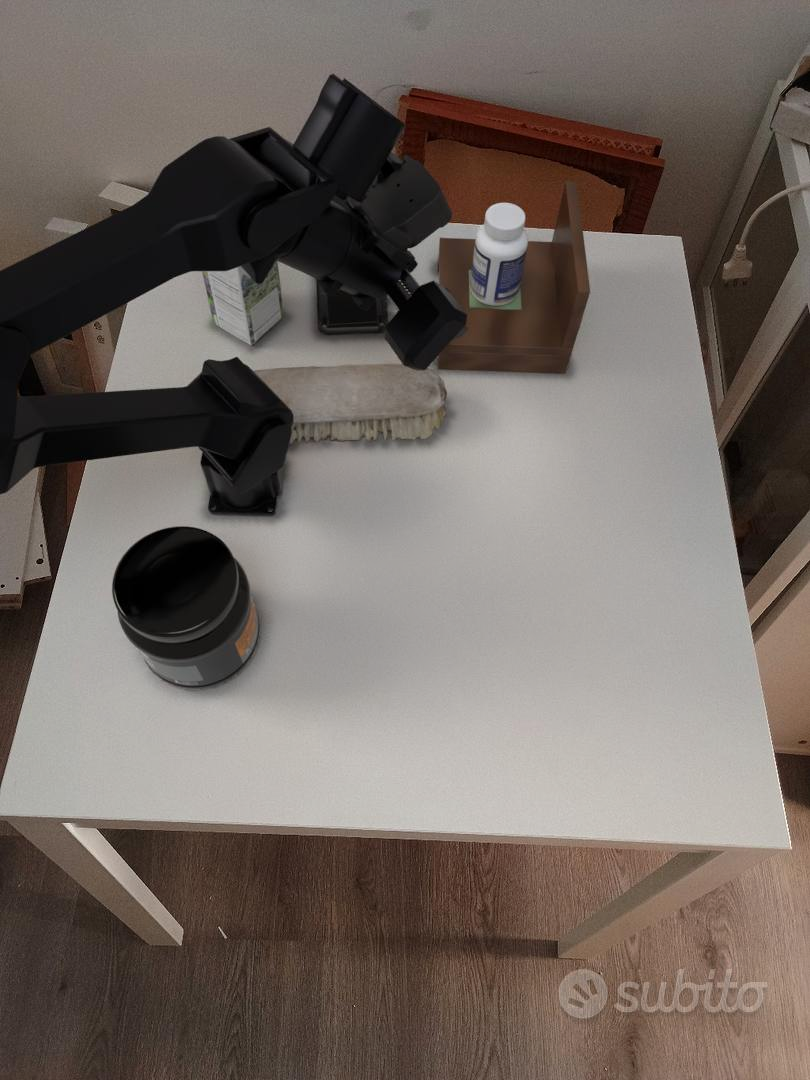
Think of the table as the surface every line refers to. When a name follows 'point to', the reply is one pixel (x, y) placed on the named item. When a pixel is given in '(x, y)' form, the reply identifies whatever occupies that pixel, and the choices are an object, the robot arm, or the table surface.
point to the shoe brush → (359, 400)
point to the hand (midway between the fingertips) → (438, 298)
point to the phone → (349, 314)
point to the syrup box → (244, 302)
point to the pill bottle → (499, 255)
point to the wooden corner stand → (522, 302)
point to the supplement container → (186, 607)
